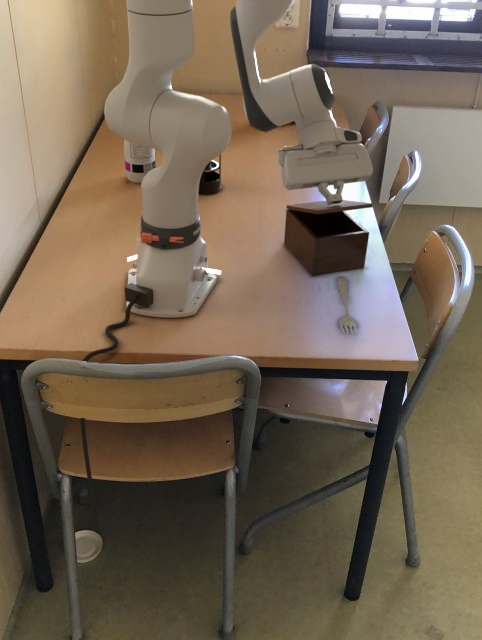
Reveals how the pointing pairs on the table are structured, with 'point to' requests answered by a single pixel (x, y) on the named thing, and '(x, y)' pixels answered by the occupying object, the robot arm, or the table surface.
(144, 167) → the supplement can
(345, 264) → the box
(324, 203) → the lid
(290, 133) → the table surface
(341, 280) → the fork
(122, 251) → the table surface
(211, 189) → the french press
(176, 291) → the robot arm
